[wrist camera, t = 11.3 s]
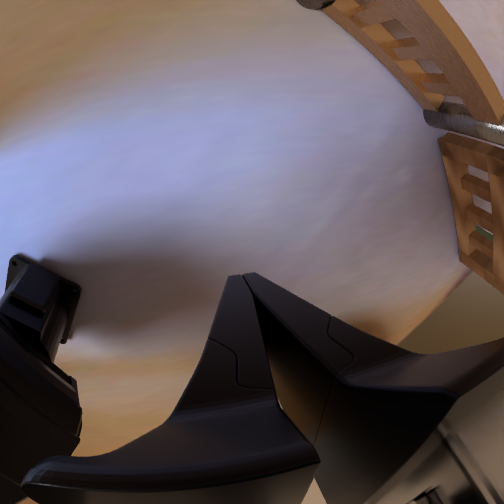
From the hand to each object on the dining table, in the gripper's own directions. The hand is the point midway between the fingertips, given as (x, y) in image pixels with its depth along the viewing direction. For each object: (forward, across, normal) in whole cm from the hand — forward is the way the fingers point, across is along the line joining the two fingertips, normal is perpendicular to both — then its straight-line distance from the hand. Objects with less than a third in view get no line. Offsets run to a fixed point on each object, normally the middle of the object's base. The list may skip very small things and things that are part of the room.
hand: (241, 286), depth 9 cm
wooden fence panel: (+12, -14, -10) cm, 21 cm away
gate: (+12, -24, +3) cm, 27 cm away
